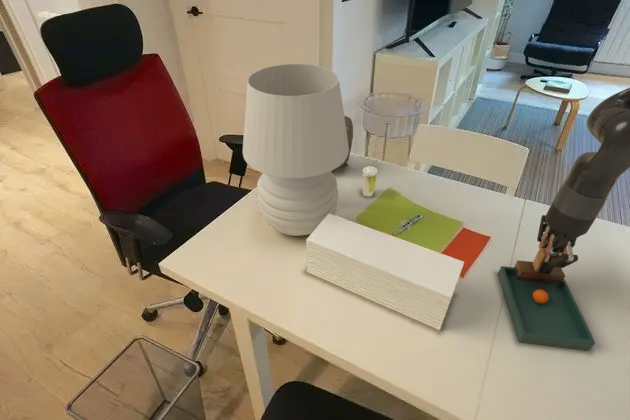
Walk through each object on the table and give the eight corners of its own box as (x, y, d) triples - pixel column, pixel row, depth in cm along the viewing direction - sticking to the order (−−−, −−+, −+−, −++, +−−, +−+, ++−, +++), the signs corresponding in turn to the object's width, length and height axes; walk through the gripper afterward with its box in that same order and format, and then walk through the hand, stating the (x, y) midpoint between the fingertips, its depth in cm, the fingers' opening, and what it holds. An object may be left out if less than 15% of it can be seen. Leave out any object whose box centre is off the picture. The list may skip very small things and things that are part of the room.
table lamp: (362, 218, 105) (376, 76, 80) (302, 270, 90) (297, 114, 65) (295, 185, 118) (290, 53, 92) (233, 225, 102) (207, 81, 77)
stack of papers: (452, 294, 84) (464, 261, 77) (439, 330, 77) (451, 297, 70) (327, 245, 96) (328, 213, 90) (306, 272, 89) (306, 239, 82)
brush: (554, 273, 84) (569, 248, 79) (559, 285, 82) (575, 260, 77) (512, 269, 85) (525, 244, 80) (516, 280, 83) (529, 255, 78)
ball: (543, 296, 83) (548, 287, 81) (547, 307, 80) (553, 298, 78) (528, 294, 83) (533, 285, 81) (532, 305, 81) (538, 296, 79)
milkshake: (375, 200, 111) (379, 171, 105) (358, 196, 113) (361, 168, 107) (379, 191, 115) (383, 163, 108) (362, 188, 116) (365, 160, 110)
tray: (556, 280, 87) (561, 272, 86) (588, 350, 73) (595, 343, 72) (497, 273, 89) (501, 265, 87) (518, 342, 75) (523, 334, 73)
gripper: (614, 232, 65) (571, 294, 76) (582, 186, 76) (548, 247, 87) (568, 228, 66) (532, 290, 77) (543, 183, 77) (514, 244, 87)
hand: (541, 267), depth 82 cm, fingers closed on brush, 2 cm apart
